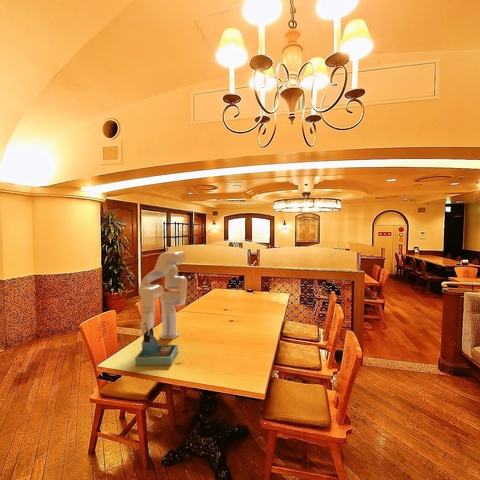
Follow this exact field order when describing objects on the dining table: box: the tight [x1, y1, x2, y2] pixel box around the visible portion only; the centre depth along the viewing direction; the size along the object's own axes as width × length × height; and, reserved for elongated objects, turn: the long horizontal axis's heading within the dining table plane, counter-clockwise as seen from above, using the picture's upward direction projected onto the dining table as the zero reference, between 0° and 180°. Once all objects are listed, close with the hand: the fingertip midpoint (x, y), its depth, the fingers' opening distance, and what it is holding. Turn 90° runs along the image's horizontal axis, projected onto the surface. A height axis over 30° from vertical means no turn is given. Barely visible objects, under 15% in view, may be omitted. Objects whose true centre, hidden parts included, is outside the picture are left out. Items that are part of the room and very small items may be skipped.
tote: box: [134, 344, 179, 367], centre depth 147 cm, size 16×20×4 cm
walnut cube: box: [160, 347, 171, 357], centre depth 147 cm, size 5×5×5 cm
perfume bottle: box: [141, 330, 159, 356], centre depth 146 cm, size 6×6×12 cm
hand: (148, 339), depth 146 cm, fingers closed on perfume bottle, 5 cm apart
